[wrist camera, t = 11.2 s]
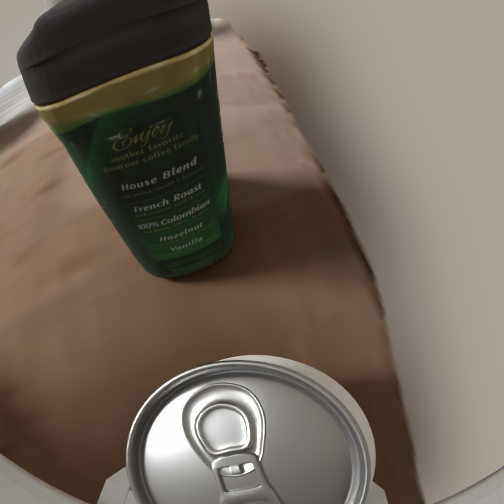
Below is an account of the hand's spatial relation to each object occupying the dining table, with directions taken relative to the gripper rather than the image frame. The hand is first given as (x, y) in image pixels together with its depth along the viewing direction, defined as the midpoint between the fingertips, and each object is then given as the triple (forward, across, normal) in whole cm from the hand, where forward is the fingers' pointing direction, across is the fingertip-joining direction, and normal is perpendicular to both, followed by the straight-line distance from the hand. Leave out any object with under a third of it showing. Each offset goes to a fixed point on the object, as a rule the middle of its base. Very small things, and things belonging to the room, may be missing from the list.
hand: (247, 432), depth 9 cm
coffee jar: (+15, +6, -4) cm, 17 cm away
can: (+4, -2, +6) cm, 8 cm away
